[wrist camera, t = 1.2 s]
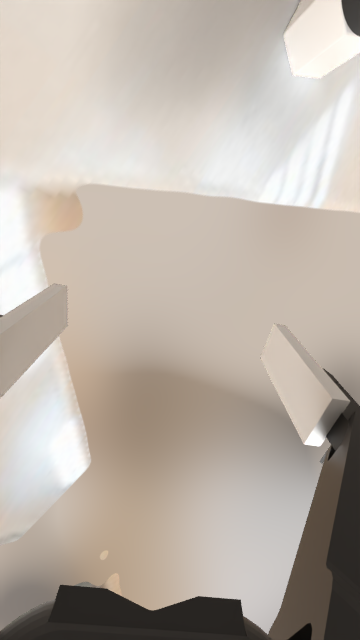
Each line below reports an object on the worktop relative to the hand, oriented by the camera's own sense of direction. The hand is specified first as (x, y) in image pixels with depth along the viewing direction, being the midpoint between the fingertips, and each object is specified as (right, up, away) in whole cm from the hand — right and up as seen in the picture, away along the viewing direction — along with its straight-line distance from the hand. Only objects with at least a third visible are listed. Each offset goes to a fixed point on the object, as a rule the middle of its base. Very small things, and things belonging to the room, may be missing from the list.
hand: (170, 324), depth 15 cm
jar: (+19, +39, +18) cm, 47 cm away
